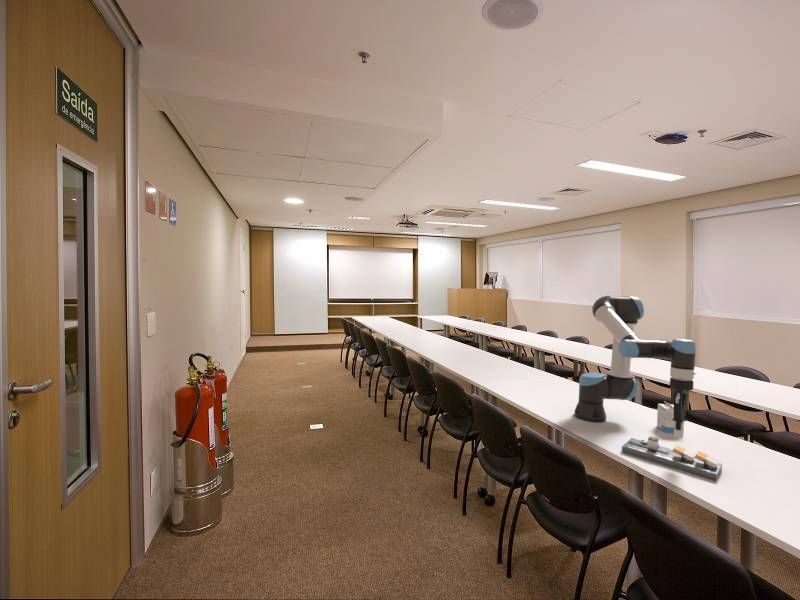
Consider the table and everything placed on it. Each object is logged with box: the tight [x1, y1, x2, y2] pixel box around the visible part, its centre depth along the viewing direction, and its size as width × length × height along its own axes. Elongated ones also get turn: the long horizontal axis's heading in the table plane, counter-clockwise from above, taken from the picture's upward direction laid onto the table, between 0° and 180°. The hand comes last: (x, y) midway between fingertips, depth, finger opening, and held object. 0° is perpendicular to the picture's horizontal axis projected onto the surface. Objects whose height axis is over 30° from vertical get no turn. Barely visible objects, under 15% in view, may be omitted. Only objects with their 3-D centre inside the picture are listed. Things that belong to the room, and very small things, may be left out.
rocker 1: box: [672, 444, 696, 461], centre depth 151 cm, size 6×6×2 cm
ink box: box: [656, 400, 685, 434], centre depth 187 cm, size 9×8×13 cm
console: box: [621, 437, 723, 482], centre depth 154 cm, size 31×13×4 cm, turn 43°
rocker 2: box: [695, 450, 719, 468], centre depth 146 cm, size 6×6×2 cm
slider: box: [647, 436, 660, 450], centre depth 159 cm, size 3×3×4 cm
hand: (678, 437), depth 152 cm, fingers closed
